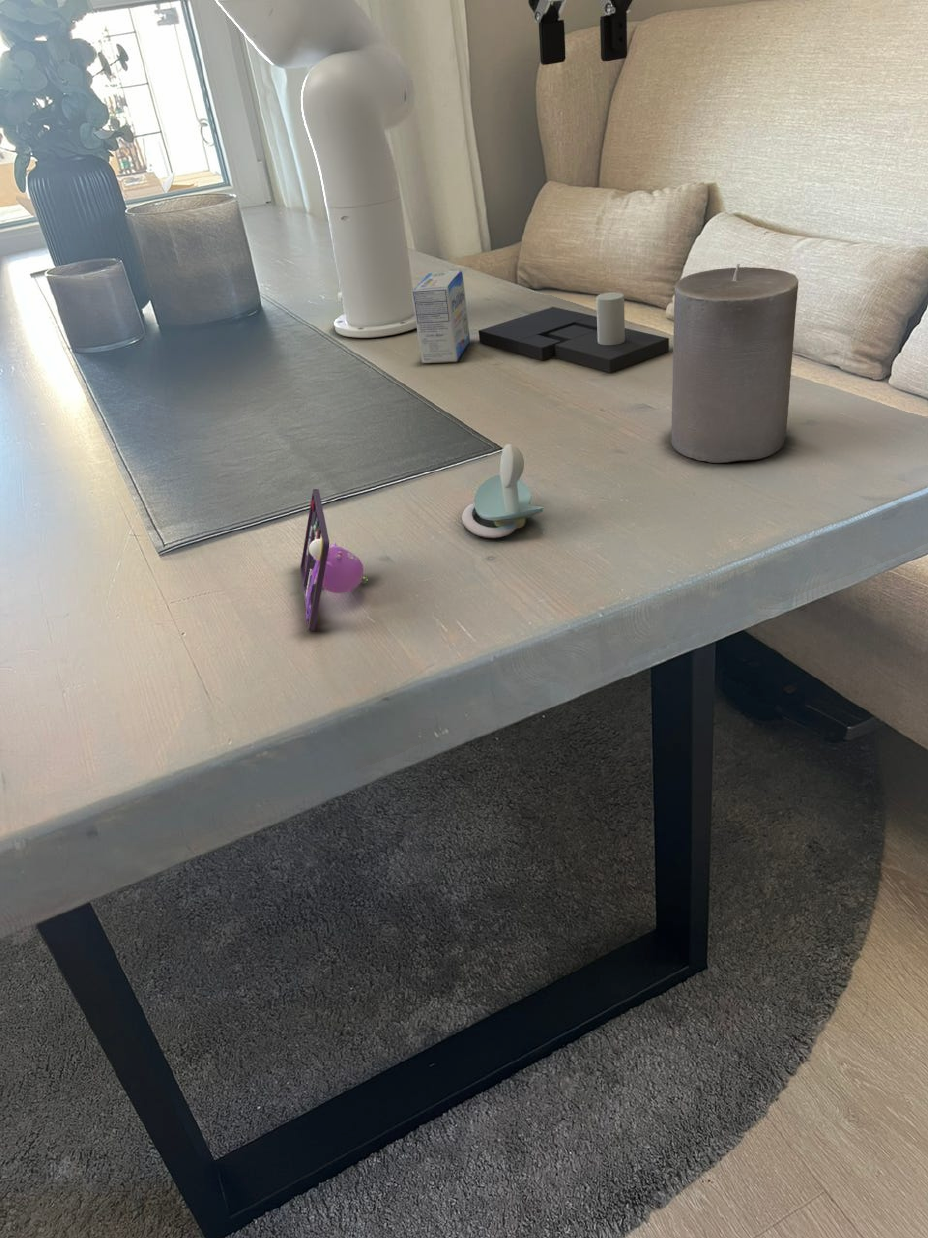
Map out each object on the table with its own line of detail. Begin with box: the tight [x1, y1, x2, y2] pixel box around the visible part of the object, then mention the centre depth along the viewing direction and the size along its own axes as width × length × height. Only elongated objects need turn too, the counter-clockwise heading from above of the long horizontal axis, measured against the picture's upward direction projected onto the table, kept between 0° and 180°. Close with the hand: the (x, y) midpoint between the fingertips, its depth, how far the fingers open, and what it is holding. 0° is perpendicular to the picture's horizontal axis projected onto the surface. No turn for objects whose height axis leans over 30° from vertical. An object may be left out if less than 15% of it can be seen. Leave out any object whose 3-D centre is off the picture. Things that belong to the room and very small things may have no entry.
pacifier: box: [461, 443, 544, 539], centre depth 72 cm, size 7×6×6 cm
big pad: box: [478, 306, 597, 361], centre depth 113 cm, size 12×12×2 cm
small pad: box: [549, 291, 670, 374], centre depth 106 cm, size 13×9×6 cm
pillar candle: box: [670, 263, 799, 464], centre depth 78 cm, size 10×10×15 cm
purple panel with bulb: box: [299, 488, 369, 632], centre depth 66 cm, size 7×5×9 cm
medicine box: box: [412, 270, 471, 364], centre depth 111 cm, size 8×4×9 cm, turn 168°
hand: (582, 61), depth 102 cm, fingers open, 9 cm apart
